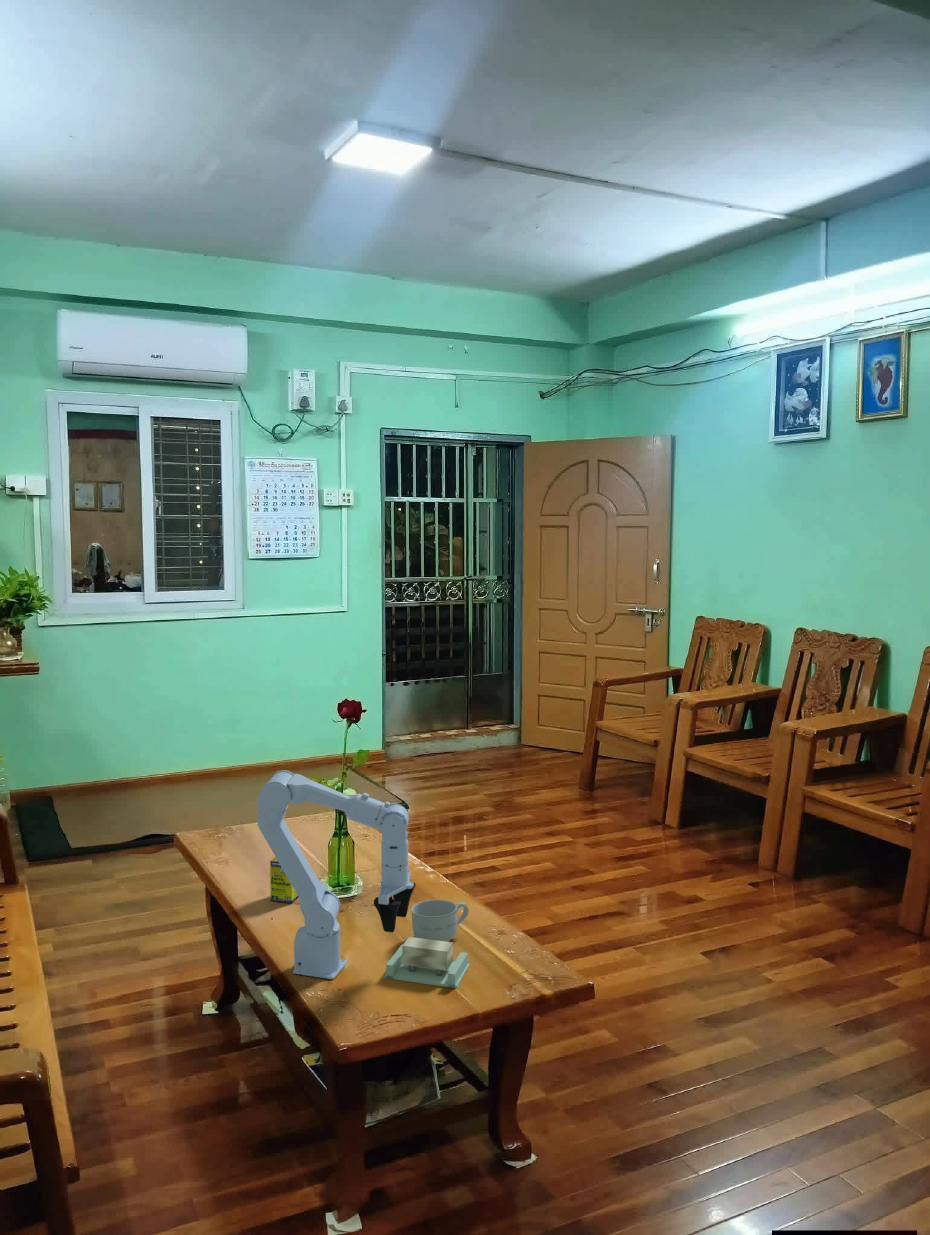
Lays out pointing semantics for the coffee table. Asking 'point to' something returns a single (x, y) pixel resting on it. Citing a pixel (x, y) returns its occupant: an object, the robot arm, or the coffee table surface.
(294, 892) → the supplement box
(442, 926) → the teacup
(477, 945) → the coffee table surface
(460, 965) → the peg frame
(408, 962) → the shelf block
